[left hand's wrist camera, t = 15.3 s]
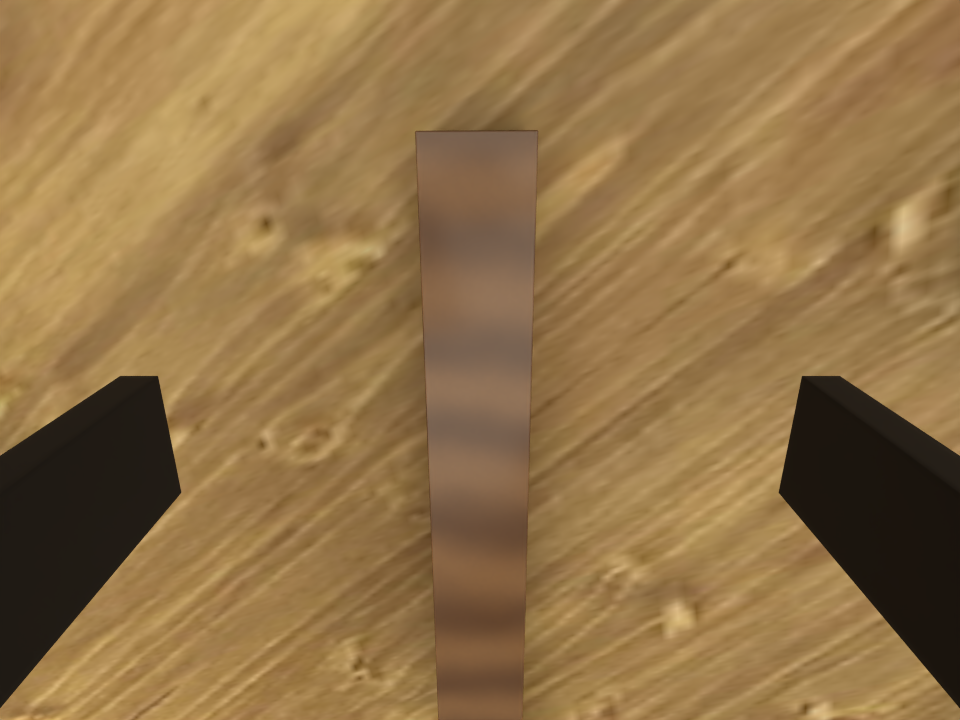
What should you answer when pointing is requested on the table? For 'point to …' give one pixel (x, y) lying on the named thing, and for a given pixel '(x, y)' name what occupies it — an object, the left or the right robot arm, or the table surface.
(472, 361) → the bar
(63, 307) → the table surface
